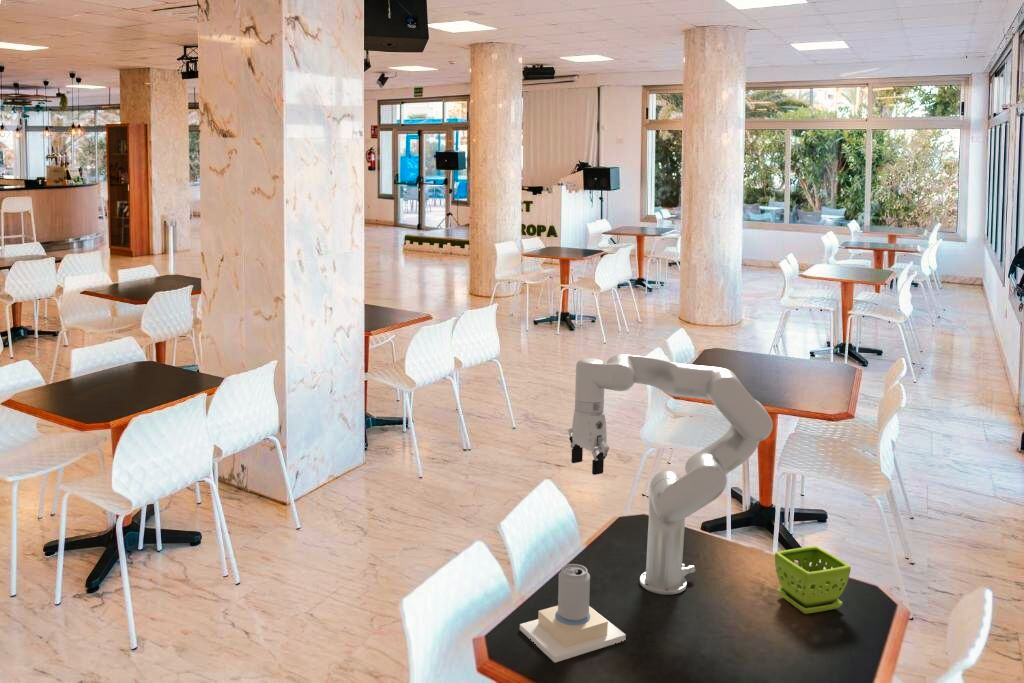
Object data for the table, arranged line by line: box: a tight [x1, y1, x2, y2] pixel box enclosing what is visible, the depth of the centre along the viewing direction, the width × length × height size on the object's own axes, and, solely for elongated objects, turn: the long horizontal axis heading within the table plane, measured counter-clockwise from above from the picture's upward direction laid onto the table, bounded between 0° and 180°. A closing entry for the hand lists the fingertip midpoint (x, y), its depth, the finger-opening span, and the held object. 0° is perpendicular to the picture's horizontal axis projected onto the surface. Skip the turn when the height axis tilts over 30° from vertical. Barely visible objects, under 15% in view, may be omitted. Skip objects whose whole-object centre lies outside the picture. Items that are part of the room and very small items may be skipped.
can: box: [557, 563, 591, 621], centre depth 209 cm, size 8×8×12 cm
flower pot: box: [774, 545, 852, 615], centre depth 226 cm, size 14×14×13 cm
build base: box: [519, 605, 627, 663], centre depth 210 cm, size 20×16×5 cm
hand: (587, 467), depth 232 cm, fingers open, 9 cm apart
